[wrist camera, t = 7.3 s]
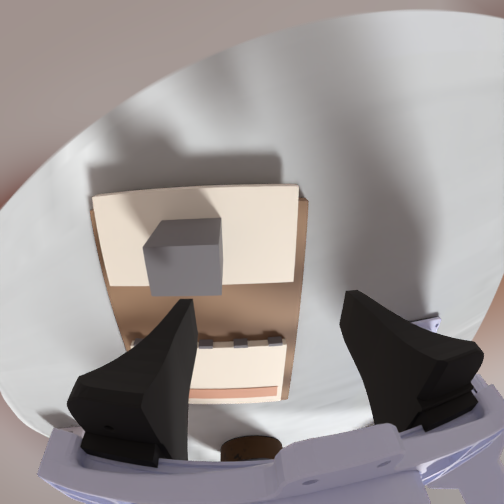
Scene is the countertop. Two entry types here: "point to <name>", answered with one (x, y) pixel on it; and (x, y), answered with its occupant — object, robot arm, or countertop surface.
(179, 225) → the stub
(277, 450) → the olive oil
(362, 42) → the countertop surface
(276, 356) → the ticket
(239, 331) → the board
